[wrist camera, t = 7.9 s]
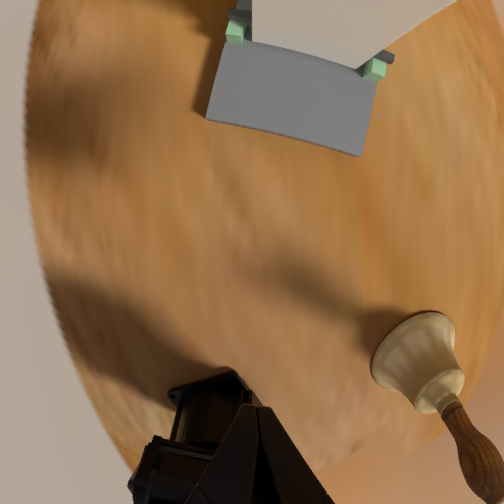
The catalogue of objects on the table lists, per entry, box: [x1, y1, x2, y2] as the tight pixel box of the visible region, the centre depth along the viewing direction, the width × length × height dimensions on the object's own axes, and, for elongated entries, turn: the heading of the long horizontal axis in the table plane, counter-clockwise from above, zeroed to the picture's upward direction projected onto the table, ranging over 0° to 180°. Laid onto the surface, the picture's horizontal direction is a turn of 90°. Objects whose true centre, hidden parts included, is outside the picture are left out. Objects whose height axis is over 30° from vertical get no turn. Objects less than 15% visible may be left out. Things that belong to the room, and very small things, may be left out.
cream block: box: [227, 0, 457, 69], centre depth 8 cm, size 2×9×11 cm, turn 77°
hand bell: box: [372, 312, 504, 504], centre depth 14 cm, size 8×8×16 cm
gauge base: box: [205, 0, 387, 157], centre depth 12 cm, size 10×9×6 cm
